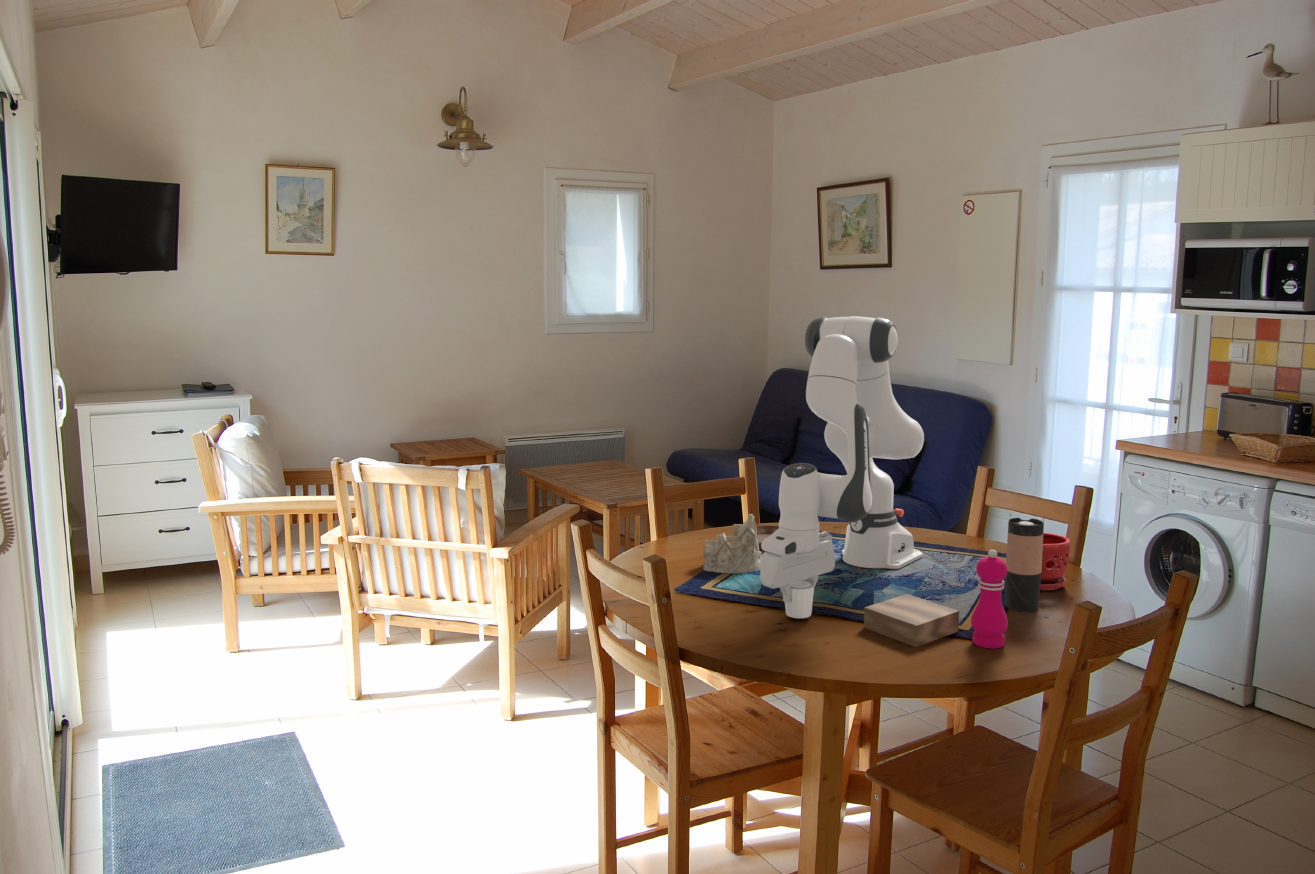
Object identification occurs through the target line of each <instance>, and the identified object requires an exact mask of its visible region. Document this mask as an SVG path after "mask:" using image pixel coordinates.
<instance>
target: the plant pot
mask: <svg viewBox="0 0 1315 874" xmlns="http://www.w3.org/2000/svg"><path fill="white" fill-rule="evenodd" d="M1070 553H1071V541H1070V538H1068V537H1066V536H1065V535H1060V534H1057V533H1050V532H1049V533H1048V532H1043V550H1042V572H1041V583H1040V591H1056V590H1058V589H1060V588H1062V587H1064V586H1065V584H1067V583H1066V582H1067V579H1066V577H1064V574H1065V573H1066V570H1067V567H1068V565H1069V558H1070V557H1069V556H1070Z"/></svg>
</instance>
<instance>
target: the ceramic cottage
mask: <svg viewBox="0 0 1315 874" xmlns="http://www.w3.org/2000/svg"><path fill="white" fill-rule="evenodd" d="M756 526H757V524H756V520H755V516H754V515H753V513H749V514H748V516H747V519H746V520H745V522H743V524H742V523H741V524H740V523H739V524H736V523H733V525H732V534H731V535H726V533H725V532H722V533H721V534H716V535H715V540H709V539H707V540H705V541H704V549H703V553H702V555H703V558H704V559H705V561H704V562H703V570H704V571H706V572H709V573H710V572H713V573H720V574H721V573H722V574H726V573H727V574H729V575H730V574H748V572H749V573H754V572H753V571H755V572H757V571H760V566H761V557H762V555H763V552H762V551H760V549H759V545H758V541H757V529H756Z"/></svg>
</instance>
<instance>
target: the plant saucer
mask: <svg viewBox="0 0 1315 874" xmlns="http://www.w3.org/2000/svg"><path fill="white" fill-rule="evenodd" d="M756 529H757V541H758V545H759V550H762V548H761V544H762V541H763V540H765V539H766V538H767V537H769V536H770V535H772V534H773V533H774V532H775V531H776V530H777V529H779V525H769V524H768V525H756Z"/></svg>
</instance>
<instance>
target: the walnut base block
mask: <svg viewBox="0 0 1315 874" xmlns="http://www.w3.org/2000/svg"><path fill="white" fill-rule="evenodd" d="M863 611H864V612H863V615H864V616H863V617H864V618H863V628H864V629H866V630H869V631H871V632H875V633H877V634H879V635H882V636H886V637H888V638H889V639H893V640H896V641H899V642H900V643H901V642H902V643H904V644H907V645H909V646H912V647H915V648H918V647H920V646H923V645H926V644H928V643H932V642H934V641H937V640H939V639H942V638H945V637H947V636H950V635H953V634H956V633H959V628H960V627H959V626H960V625H959V623H960V610H958V609H954V608H951V607H948V606H945V605H942V604H939V603H935V602H932V601H929V600H928V599H927V600H926V599H924V598H920V597H918V596H914V595H912V594H908V593H905V594H902V595H899V596H896V597H893V598H889V599H887V600H883V601H880V602H878V603H874V604H871V605H868V606H865V607H864V608H863Z"/></svg>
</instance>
